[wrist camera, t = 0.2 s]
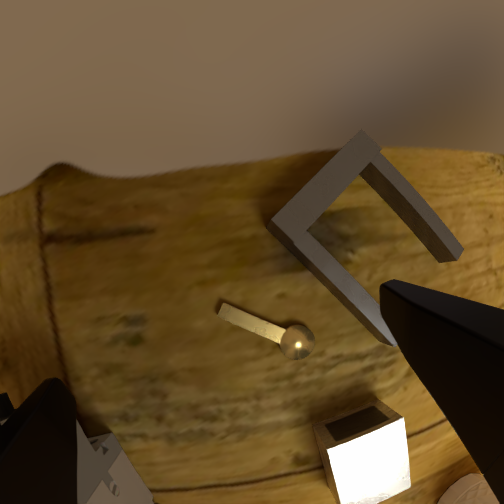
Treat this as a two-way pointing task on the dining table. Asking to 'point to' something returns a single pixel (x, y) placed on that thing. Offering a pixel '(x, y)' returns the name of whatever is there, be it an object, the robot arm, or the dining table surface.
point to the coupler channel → (321, 197)
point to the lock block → (364, 454)
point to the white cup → (469, 491)
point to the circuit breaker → (99, 468)
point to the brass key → (273, 332)
